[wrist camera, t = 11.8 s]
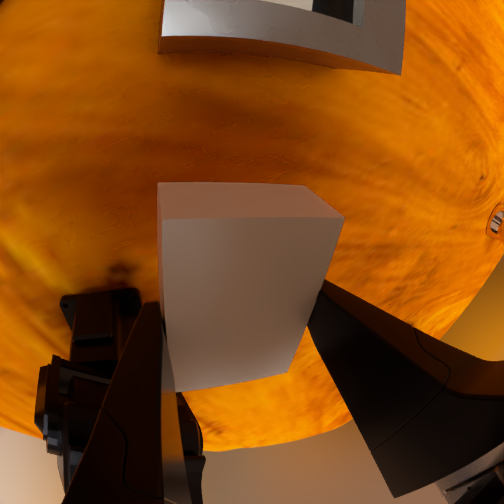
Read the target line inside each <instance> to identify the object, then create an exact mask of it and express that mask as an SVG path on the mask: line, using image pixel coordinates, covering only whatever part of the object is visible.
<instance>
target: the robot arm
mask: <svg viewBox="0 0 504 504" xmlns="http://www.w3.org/2000/svg"><path fill="white" fill-rule="evenodd" d="M132 294H134V295H135V296H131V295H132ZM65 303H67V304H65ZM60 307H61V310H62V312H63V314H64V316H65V318H66V320H67V322H68V324H69V326H70V328H71V330H72V337H71V345H70V355H69V361H68V360H65V359H61V358H60V356H56V355H53V356H52V361H51V364H48V365H47V366H42V367H40V372H39V379H38V388H37V396H36V405H35V418H34V423H35V425H36V426H37V427H38V428H39V430H40V431H41V432H42V434H43V440H45V441H46V446H47V453H50V454H55V455H57V464H58V470H59V474H60V478H61V481H62V485H63V489H64V492H65V497H64V499H63V502H62V503H61V504H203V500H202V491H201V480H202V471H203V468H204V464H205V461H206V458H205V456H204V455H202V451H203V437H202V432H201V428H200V426H199V424H198V422H197V420H196V418H195V416H194V415H193V413H192V411H191V409H190V407H189V406H188V404H187V402H186V400H185V398H184V397H183V395H182V393H181V392H176V391H175V382H174V375H173V369H172V364H171V359H170V355H169V351H168V346H167V341H166V335H165V328H164V322H163V317H162V312H161V307H160V303H159V301H151V302H145V303H144V304H143V305H142V301H141V297H140V292H139V291H138V290H137V289H135V288H130V289H122V290H115V291H107V292H99V293H91V294H83V295H75V296H66V297H62V298H61V300H60ZM307 326H308V329H309V332H310V334H311V337H312V339H313V342H314V344H315V346H316V348H317V350H318V352H319V354H320V356H321V358H322V360H323V362H324V364H325V365H326V367H327V369H328V371H329V373H330V375H331V377H332V379H333V381H334V383H335V384H336V386H337V388H338V390H339V392H340V394H341V396H342V398H343V400H344V402H345V404H346V405H347V407H348V409H349V411H350V413H351V415H352V417H353V419H354V421H355V423H356V425H357V426H358V429H359V430H360V432H361V434H362V436H363V438H364V440H365V442H366V444H367V446H368V448H369V450H370V451H371V454H372V456H373V458H374V460H375V462H376V464H377V466H378V468H379V470H380V471H381V474H382V476H383V478H384V480H385V482H386V484H387V486H388V488H389V490H390V492H391V494H392V495H393V497H394V498H397V497H400V496H402V495H405V494H407V493H410V492H413V491H415V490H418V489H420V488H422V487H425V486H427V485H429V484H431V483H434V484H435V485H436V487H437V489H438V490H439V492H440V494H441V495H442V497H443V496H444V497H445V498H446V500H447V502H448V503H449V504H504V361H486V360H482V359H480V358H477V357H475V356H473V355H470V354H468V353H466V352H464V351H462V350H459V349H457V348H455V347H453V346H450V345H448V344H446V343H444V342H442V341H440V340H438V339H436V338H434V337H432V336H430V335H428V334H426V333H424V332H422V331H420V330H419V329H417V328H415V327H412V326H411V325H409V324H407V323H406V322H404V321H402V320H400V319H398V318H396V317H394V316H393V315H391V314H389V313H387V312H385V311H383V310H381V309H380V308H378V307H376V306H374V305H372V304H370V303H368V302H367V301H365V300H363V299H361V298H359V297H357V296H355V295H353V294H352V293H350V292H348V291H346V290H344V289H342V288H340V287H338V286H337V285H335V284H333V283H331V282H329V281H327V280H325V279H324V281H323V284H322V287H321V289H320V291H319V292H318V296H317V299H316V303H315V305H314V308H313V311H312V313H311V316H310V318H309V321H308V323H307Z"/></svg>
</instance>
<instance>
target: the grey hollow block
mask: <svg viewBox="0 0 504 504" xmlns="http://www.w3.org/2000/svg"><path fill="white" fill-rule="evenodd" d="M405 12H406V0H313V4H312V11H309V10H305V9H301V8H297V7H292V6H288V5H283V4H278V3H273V2H267V1H261V0H162V6H161V16H160V27H159V41H158V54H159V53H187V52H202V53H230V54H244V55H255V56H265V57H273V58H280V59H287V60H294V61H300V62H305V63H311V64H316V65H321V66H325V67H330V68H334V69H349V70H361V71H371V72H380V73H387V74H394V75H401V69H402V60H403V48H404V34H405Z"/></svg>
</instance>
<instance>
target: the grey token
mask: <svg viewBox="0 0 504 504" xmlns="http://www.w3.org/2000/svg"><path fill="white" fill-rule="evenodd" d="M344 219H345V217H344V216H342V215H341V214H340V213H339V212H338V211H336V210H335V209H334V208H333V207H331V206H330V205H329V204H328V203H326V202H325V201H324V200H323V199H321V198H320V197H319V196H318V195H316V194H315V193H314V192H312V191H311V190H310V189H309V188H307V187H306V186H305V185H288V184H268V183H239V182H158V189H157V245H158V274H159V292H160V307H161V312H162V317H163V322H164V328H165V335H166V341H167V346H168V351H169V355H170V359H171V364H172V369H173V375H174V382H175V391H176V392H184V391H191V390H198V389H205V388H212V387H218V386H224V385H229V384H235V383H240V382H245V381H250V380H255V379H260V378H265V377H269V376H273V375H278V374H282V373H286V372H287V371H288V369H289V366H290V364H291V362H292V359H293V357H294V355H295V352H296V350H297V348H298V345H299V343H300V340H301V338H302V336H303V333H304V331H305V328H306V326H307V323H308V321H309V318H310V316H311V313H312V311H313V308H314V305H315V303H316V299H317V296H318V292H319V291H320V289H321V287H322V284H323V281H324V278H325V276H326V273H327V270H328V267H329V264H330V262H331V259H332V256H333V253H334V250H335V247H336V244H337V241H338V238H339V235H340V232H341V229H342V226H343V222H344Z"/></svg>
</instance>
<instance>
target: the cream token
mask: <svg viewBox="0 0 504 504" xmlns="http://www.w3.org/2000/svg"><path fill="white" fill-rule="evenodd" d="M261 1H267V2H273V3H278V4H283V5H288V6H292V7H297V8H301V9H305V10H309V11H312V4H313V0H261Z"/></svg>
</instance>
